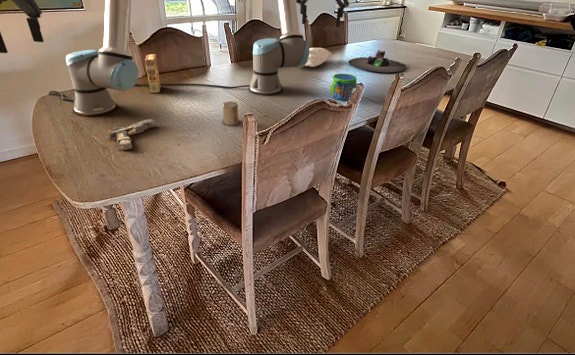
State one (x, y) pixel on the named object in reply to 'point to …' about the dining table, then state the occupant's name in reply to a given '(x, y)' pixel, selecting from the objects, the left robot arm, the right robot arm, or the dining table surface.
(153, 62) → the candy box
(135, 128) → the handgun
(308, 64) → the cream pillow
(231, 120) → the tin
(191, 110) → the dining table surface
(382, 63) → the dark round tray
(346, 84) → the snack cup
